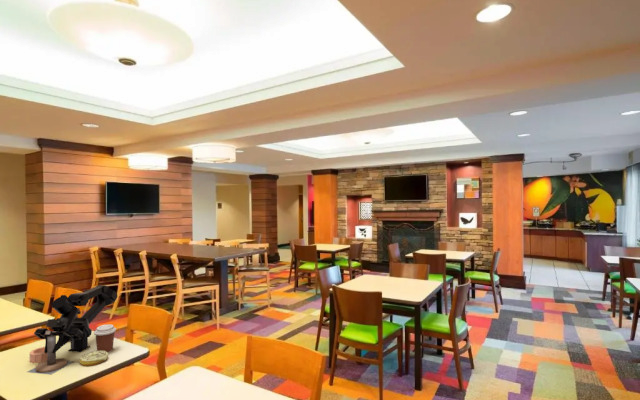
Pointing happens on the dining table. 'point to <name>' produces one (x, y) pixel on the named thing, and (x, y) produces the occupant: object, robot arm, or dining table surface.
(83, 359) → the decorated donut
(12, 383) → the dining table surface
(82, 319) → the robot arm
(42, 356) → the bowl
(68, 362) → the mat
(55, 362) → the lid
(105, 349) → the coffee cup
